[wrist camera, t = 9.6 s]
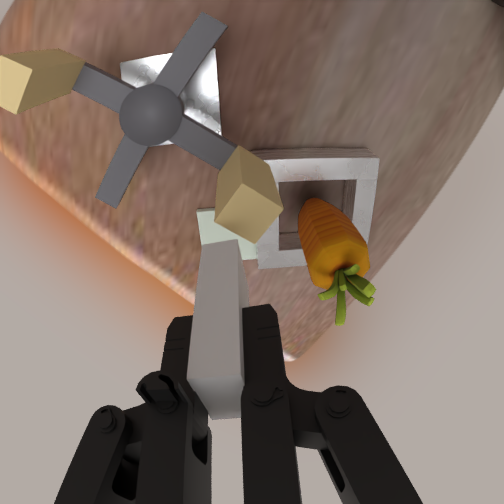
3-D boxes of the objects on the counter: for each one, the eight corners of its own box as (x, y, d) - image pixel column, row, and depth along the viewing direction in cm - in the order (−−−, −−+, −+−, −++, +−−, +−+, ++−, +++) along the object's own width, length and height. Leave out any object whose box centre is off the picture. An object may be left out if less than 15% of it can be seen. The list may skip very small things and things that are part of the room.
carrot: (304, 232, 33) (345, 346, 21) (274, 199, 31) (305, 312, 19) (343, 203, 32) (406, 307, 19) (314, 168, 29) (375, 264, 17)
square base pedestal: (215, 48, 23) (210, 45, 17) (222, 136, 27) (219, 161, 21) (122, 62, 22) (91, 67, 17) (134, 146, 27) (109, 174, 21)
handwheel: (25, 150, 19) (-33, 192, 13) (111, -28, 13) (59, -55, 7) (203, 245, 25) (196, 315, 19) (320, 90, 19) (364, 111, 13)
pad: (259, 204, 31) (259, 207, 31) (260, 255, 35) (261, 258, 34) (197, 209, 31) (196, 212, 31) (204, 259, 34) (204, 262, 34)
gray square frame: (367, 148, 28) (379, 158, 26) (355, 244, 35) (364, 260, 32) (251, 150, 28) (253, 160, 26) (256, 251, 34) (258, 269, 32)
